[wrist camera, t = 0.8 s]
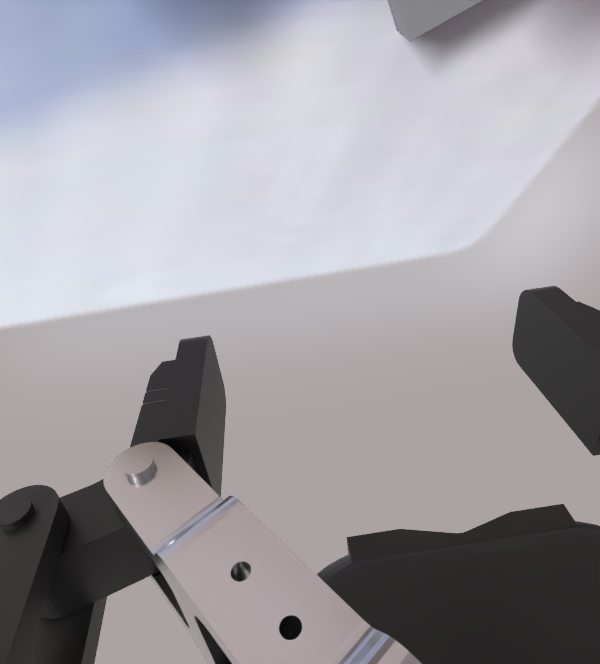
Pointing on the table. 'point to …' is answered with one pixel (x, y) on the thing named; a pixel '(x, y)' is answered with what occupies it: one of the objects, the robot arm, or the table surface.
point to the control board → (424, 14)
